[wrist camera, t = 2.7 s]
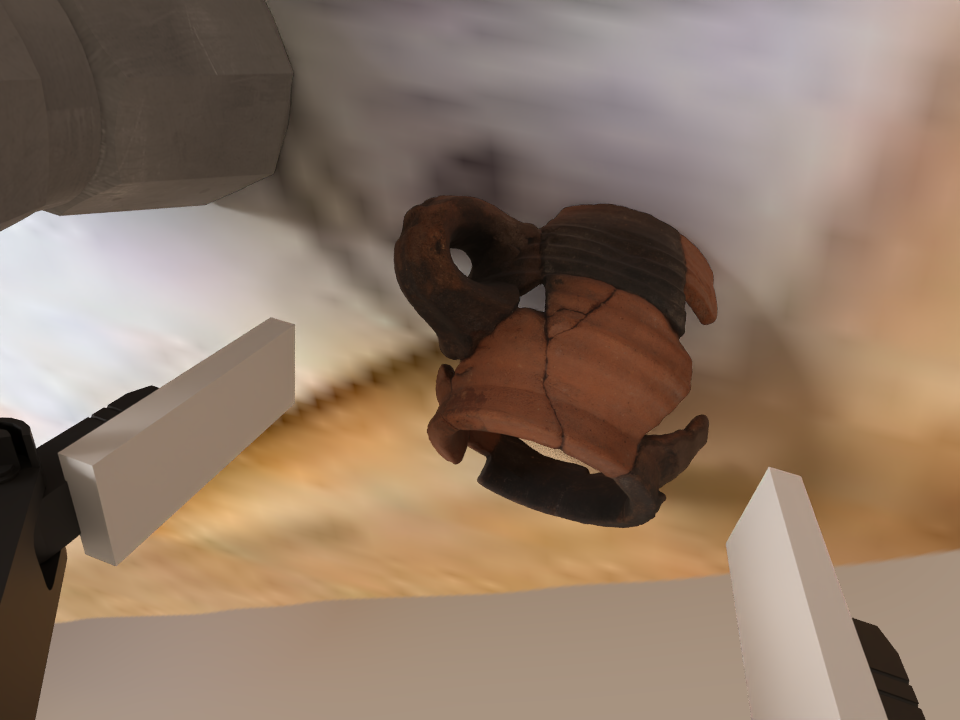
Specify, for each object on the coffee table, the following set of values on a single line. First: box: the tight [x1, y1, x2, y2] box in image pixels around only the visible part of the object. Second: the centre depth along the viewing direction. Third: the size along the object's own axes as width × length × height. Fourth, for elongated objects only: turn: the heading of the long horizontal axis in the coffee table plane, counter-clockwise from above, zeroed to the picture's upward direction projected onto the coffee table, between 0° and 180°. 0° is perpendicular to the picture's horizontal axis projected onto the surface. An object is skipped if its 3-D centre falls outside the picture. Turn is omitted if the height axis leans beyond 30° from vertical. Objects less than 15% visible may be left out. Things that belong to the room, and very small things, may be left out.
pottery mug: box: [394, 195, 717, 528], centre depth 18 cm, size 12×9×8 cm
